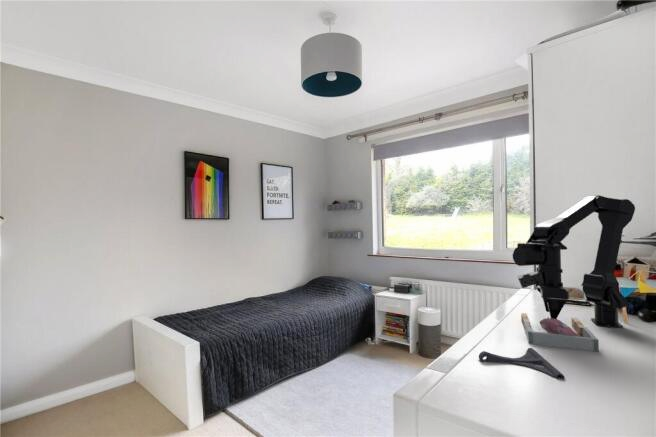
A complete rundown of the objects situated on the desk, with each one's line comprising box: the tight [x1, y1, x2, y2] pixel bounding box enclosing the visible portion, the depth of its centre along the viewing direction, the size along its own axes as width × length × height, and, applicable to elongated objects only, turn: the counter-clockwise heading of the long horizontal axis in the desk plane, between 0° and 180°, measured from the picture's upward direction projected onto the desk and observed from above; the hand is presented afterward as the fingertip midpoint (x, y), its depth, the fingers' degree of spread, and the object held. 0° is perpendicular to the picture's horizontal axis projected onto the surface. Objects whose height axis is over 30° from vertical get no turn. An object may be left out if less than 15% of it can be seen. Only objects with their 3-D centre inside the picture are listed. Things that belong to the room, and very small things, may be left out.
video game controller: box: [539, 316, 581, 337], centre depth 90 cm, size 10×5×7 cm, turn 5°
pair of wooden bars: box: [520, 312, 586, 337], centre depth 99 cm, size 10×15×2 cm, turn 64°
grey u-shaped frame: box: [524, 321, 599, 353], centre depth 90 cm, size 10×15×3 cm
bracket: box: [478, 347, 566, 380], centre depth 77 cm, size 14×15×3 cm
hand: (550, 315), depth 99 cm, fingers open, 9 cm apart
